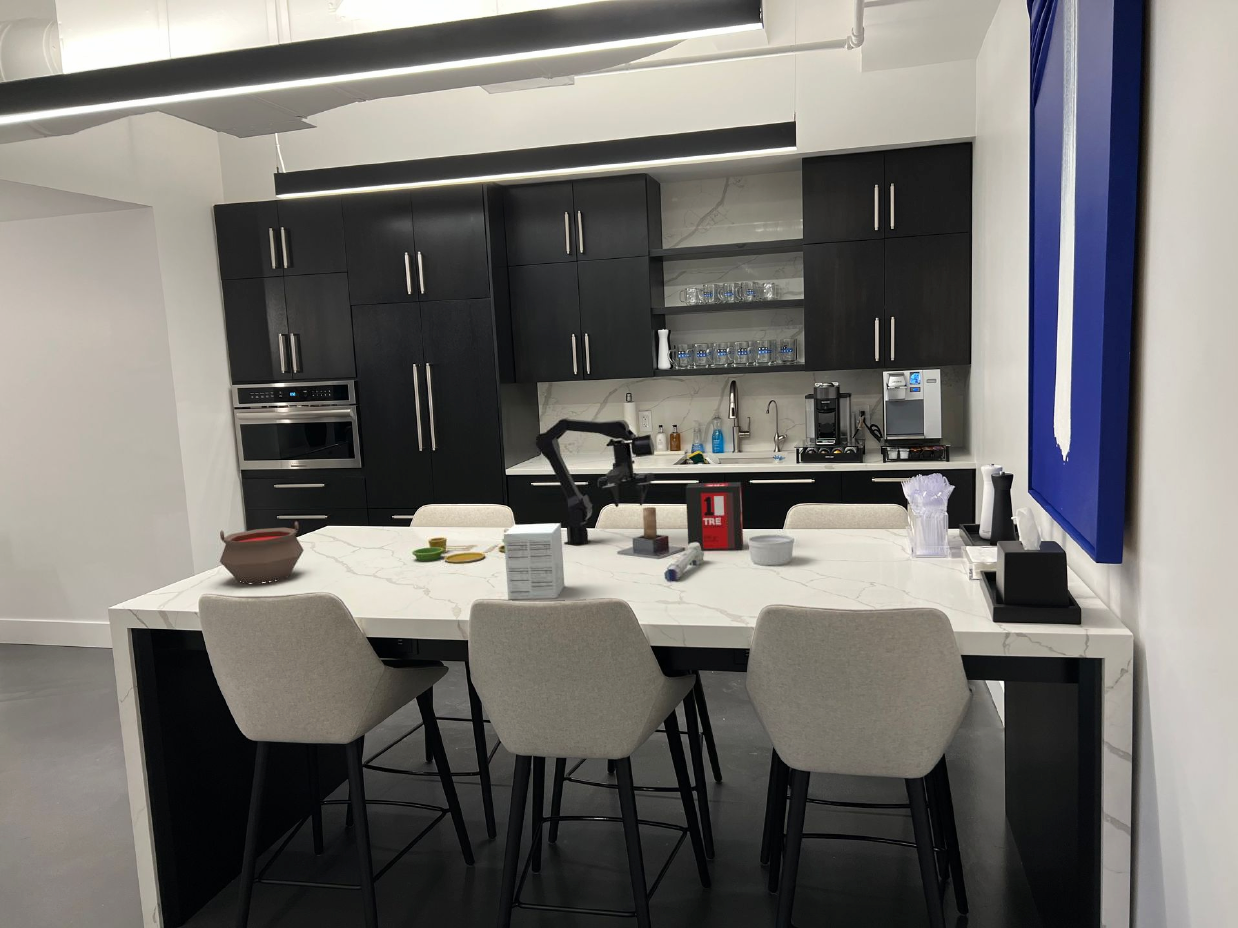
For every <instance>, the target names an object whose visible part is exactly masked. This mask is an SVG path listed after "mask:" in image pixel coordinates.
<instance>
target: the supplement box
mask: <svg viewBox="0 0 1238 928" xmlns="http://www.w3.org/2000/svg"><path fill="white" fill-rule="evenodd" d="M561 524H562V523H561V522H560V523H533V524H527V523H526V524H513V525H512V526H511V528H508V529H509V530H508V531H507V532H506V533H505V532H504V534H503V539H504V542H503V543H504V545H505V553H504V555H505V570H506V585H507V586H506V587H507V599H508V600H533V599H534V600H536V599H537V600H538V599H540V600H541V599H543V600H545V599H548V600H549V599H557V598H558V597H559V595H560V594H561V592H562V590H563V589H564V587H565V585H566V583H565V572H564V570H565V569H564V556H563V555H564V554H563V538H562V536H563V535H562V525H561Z"/></svg>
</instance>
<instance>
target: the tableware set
mask: <svg viewBox="0 0 1238 928" xmlns="http://www.w3.org/2000/svg"><path fill="white" fill-rule="evenodd" d="M509 529H510V528H504V530H503V532H504V534H505V533H506V532H507V531H508V530H509ZM502 542H503V543H504V538H502ZM428 544H429V547H423V548H417V549H415V550H413V551H412V552H411V553H412V556H414V557H415V558H416V559H417V561H419V562H433V561H437V560H439V559H440V557H441V556H442V555H444V554H445V553H446V552H448V551H450V552H460V553H453V554H450V555H446V556H445V557H444V558H443V560H444V561H445V562H447V563H449V564H469V563H475V562H478V561H481V560H483V559H484V558H485V557H486V554H487V553H488V552H489V553H491V552H494V551H495V550H496V548H497V547H498V545H499V544H494V545H492V546H490V547H489V548H487V549H485V550H484V551H482V552H471V551H470V550H472V549H474V548H477V547H478V545H477V544H468V545H447V537H442V536H441V537H434V538H430V539H428ZM494 549H495V550H494ZM497 549H498V550H499V551H500V552H501V553H504V552H505V545H501V546H500V545H499V547H498V548H497ZM469 551H470V552H469ZM489 553H488V554H489ZM474 561H475V562H474Z"/></svg>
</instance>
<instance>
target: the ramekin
mask: <svg viewBox="0 0 1238 928" xmlns="http://www.w3.org/2000/svg"><path fill="white" fill-rule="evenodd" d="M794 539H795V538H794V537H793V536H791V535H788V534H773V533H772V534H771V533H770V534H758V535H754V536H749V537H748V538H747V544H748V549H749V556H750V560H751V562H753V564H754V565H758V566H764V565H775V566H781V565H782V566H783V565H787V564H789V563H790V562H791V561H792V558H793V549H794V543H795V540H794ZM786 563H787V564H786Z"/></svg>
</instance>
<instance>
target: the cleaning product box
mask: <svg viewBox="0 0 1238 928" xmlns="http://www.w3.org/2000/svg"><path fill="white" fill-rule="evenodd" d="M685 505H686V523H687V544H688V545H689V544H690V543H694V542H697V543H699V544H700V546H701V551H703V552H721V551H722V552H723V551H724V552H725V551H726V552H727V551H729V552H731V551H732V552H733V551H734V552H736V551H737V552H738V551H739V552H740V551H743V548H744V547H743V546H744V530H743V528H744V527H743V503H742V482H740V481H737V482H736V481H735V482H731V481H730V482H705V483H703V482H701V483H699V482H698V483H688V484H687V485H686V486H685ZM688 545H687V546H688Z"/></svg>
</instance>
